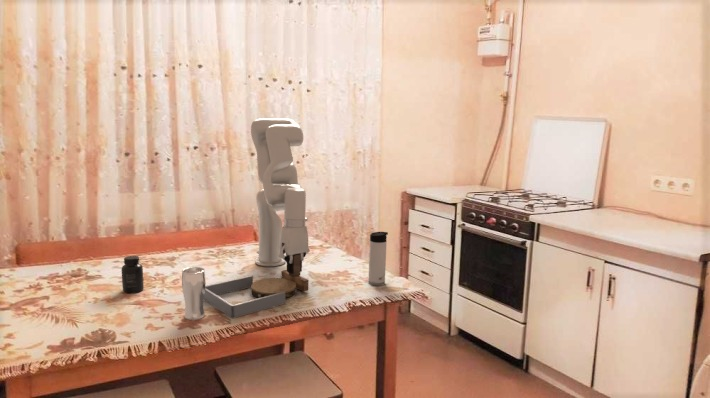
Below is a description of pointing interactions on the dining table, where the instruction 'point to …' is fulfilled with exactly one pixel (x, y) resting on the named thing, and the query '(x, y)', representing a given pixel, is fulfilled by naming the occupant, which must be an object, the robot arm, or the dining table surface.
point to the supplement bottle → (132, 275)
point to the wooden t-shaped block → (296, 274)
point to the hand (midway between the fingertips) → (294, 271)
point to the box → (243, 307)
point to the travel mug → (377, 258)
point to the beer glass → (193, 292)
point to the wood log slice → (273, 287)
